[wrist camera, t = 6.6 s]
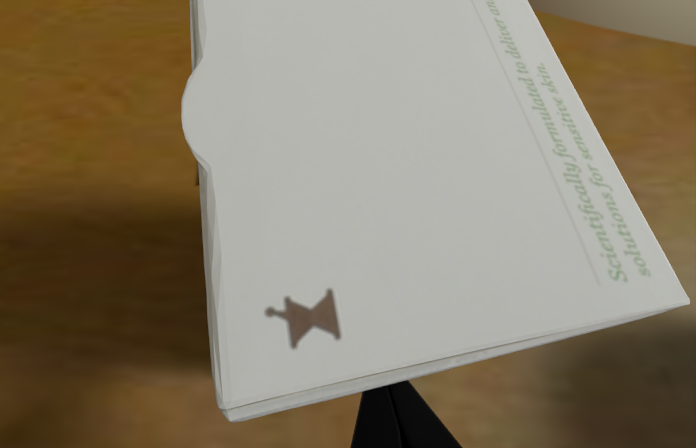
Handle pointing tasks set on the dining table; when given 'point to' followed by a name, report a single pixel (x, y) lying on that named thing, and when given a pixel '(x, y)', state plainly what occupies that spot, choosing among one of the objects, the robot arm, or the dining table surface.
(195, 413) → the dining table surface
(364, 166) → the skincare box
